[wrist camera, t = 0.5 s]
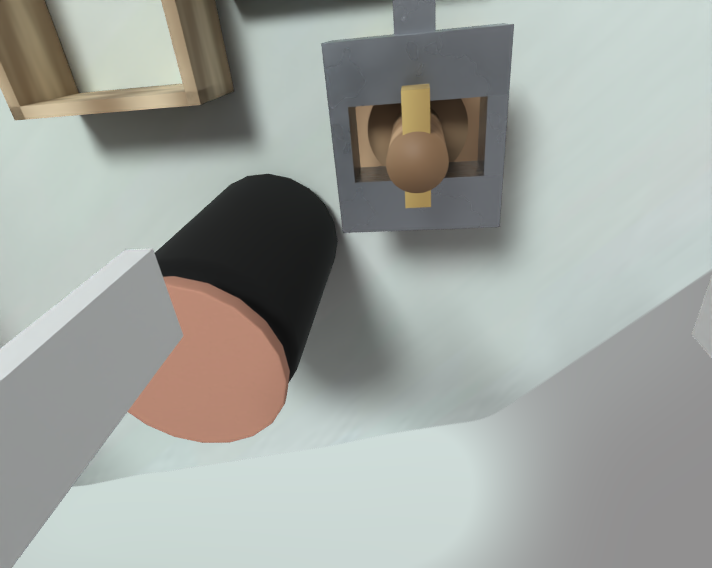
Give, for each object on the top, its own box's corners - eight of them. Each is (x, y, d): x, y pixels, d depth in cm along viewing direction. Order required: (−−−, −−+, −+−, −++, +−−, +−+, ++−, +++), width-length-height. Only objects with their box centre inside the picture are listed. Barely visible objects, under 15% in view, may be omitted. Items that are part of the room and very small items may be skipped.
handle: (360, 174, 35) (330, 255, 23) (348, 43, 31) (305, 62, 19) (479, 167, 34) (512, 250, 22) (485, 30, 30) (531, 40, 18)
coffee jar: (196, 238, 40) (57, 377, 25) (255, 141, 35) (128, 239, 20) (295, 305, 42) (226, 470, 27) (365, 223, 37) (328, 368, 22)
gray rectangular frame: (349, 213, 30) (343, 232, 27) (327, 6, 24) (316, 4, 21) (491, 207, 28) (499, 226, 26) (505, -14, 22) (516, -18, 20)
